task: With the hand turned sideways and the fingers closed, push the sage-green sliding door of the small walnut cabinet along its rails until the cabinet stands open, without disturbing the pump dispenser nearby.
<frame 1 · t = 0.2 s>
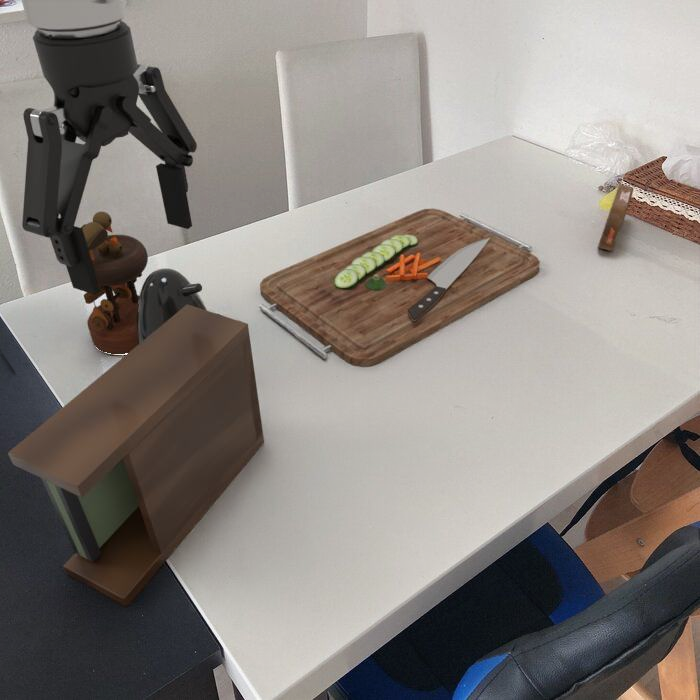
hand: (136, 255, 68), 26 cm above the table, tool pointing down, fingers open, 13 cm apart
cabinet frame: (171, 506, 75), on the table
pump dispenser: (183, 366, 94), on the table
sliding door: (105, 472, 67), point 9 cm above the table, slide at 0.0 cm
tin: (610, 239, 119), on the table
chopping board: (402, 279, 110), on the table
music box: (132, 331, 101), on the table
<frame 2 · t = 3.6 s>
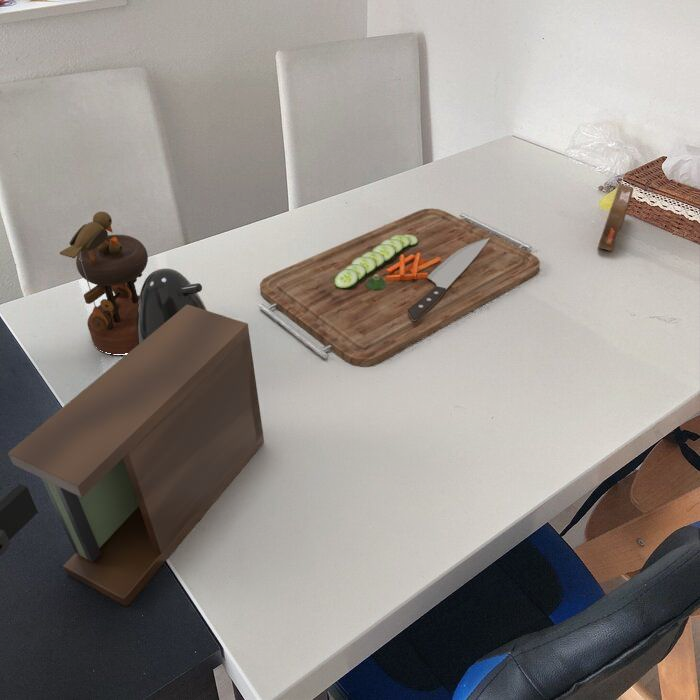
nothing on the table moved.
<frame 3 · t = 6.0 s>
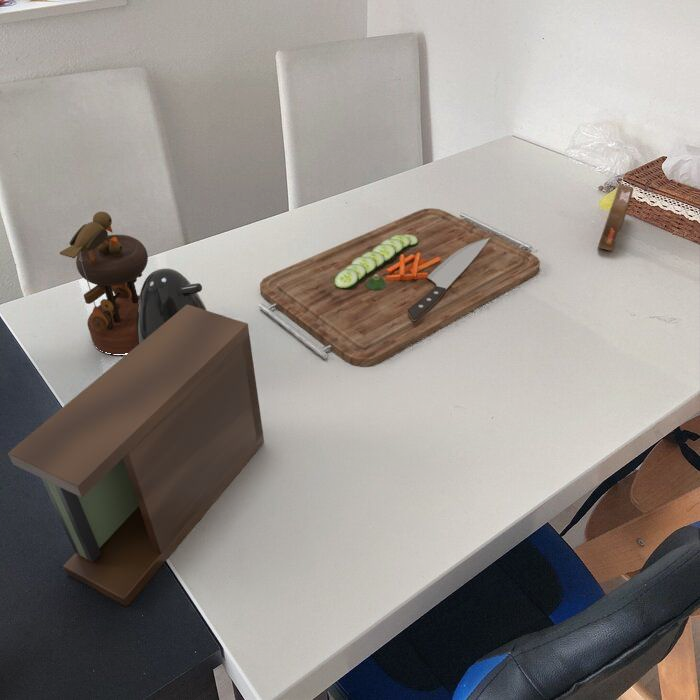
nothing on the table moved.
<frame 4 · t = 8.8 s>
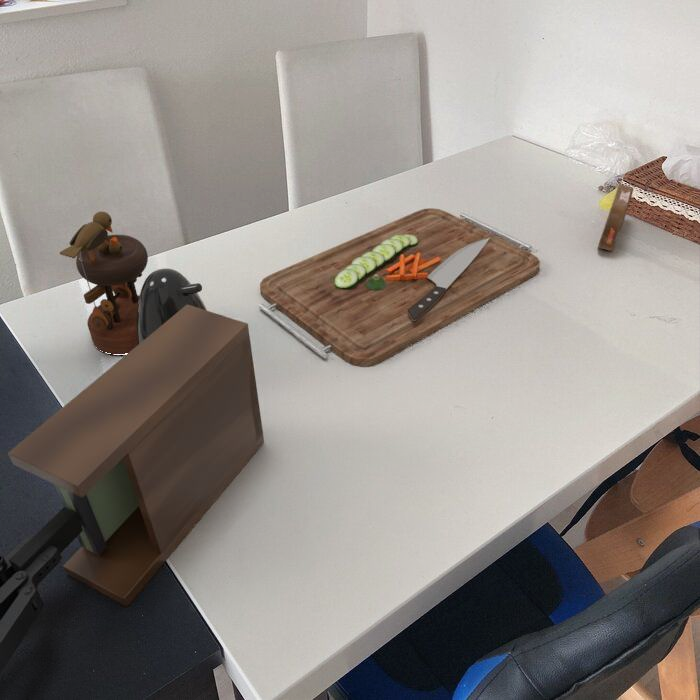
hand: (73, 519, 65), 7 cm above the table, tool horizontal, fingers closed
sliding door: (111, 466, 68), point 9 cm above the table, slide at 0.9 cm, touching gripper
everything else where it was.
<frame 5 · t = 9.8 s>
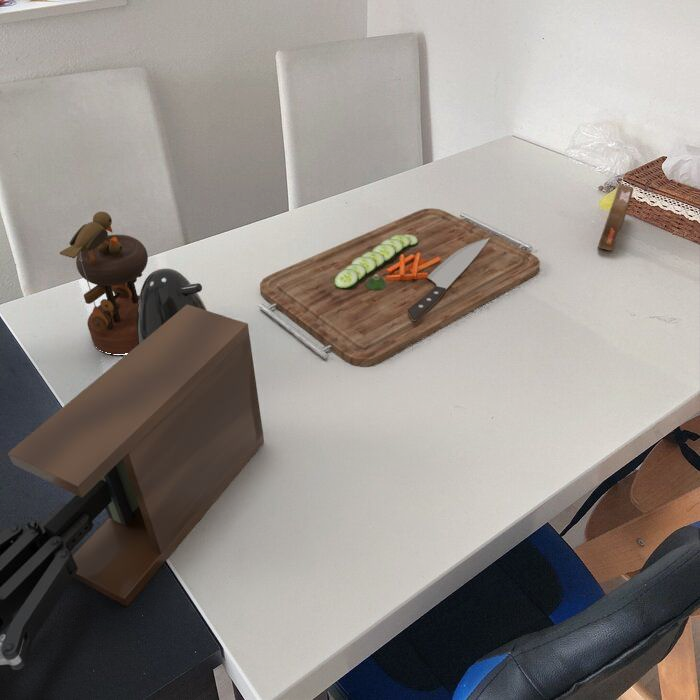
hand: (103, 489, 68), 7 cm above the table, tool horizontal, fingers closed
sliding door: (138, 440, 71), point 9 cm above the table, slide at 4.8 cm, touching gripper
everything else where it was.
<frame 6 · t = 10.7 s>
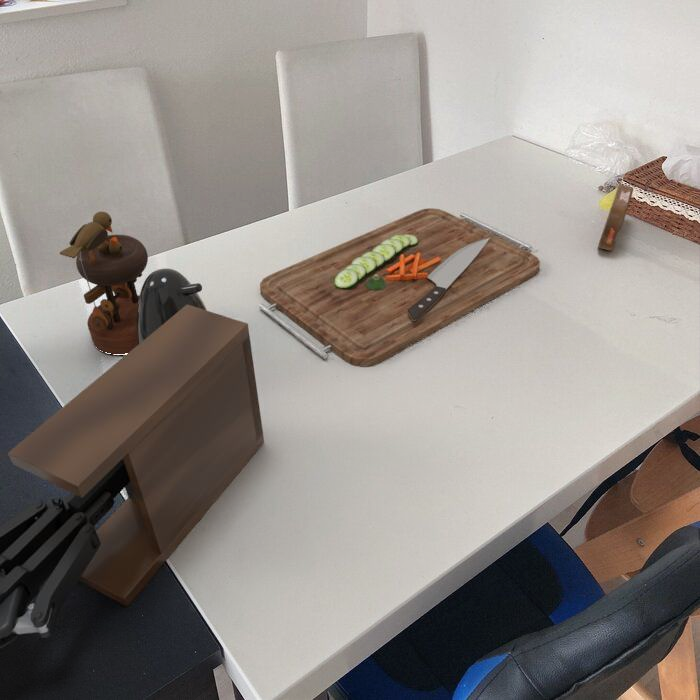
hand: (123, 468, 70), 7 cm above the table, tool horizontal, fingers closed
sliding door: (157, 422, 73), point 9 cm above the table, slide at 7.8 cm, touching gripper
everything else where it was.
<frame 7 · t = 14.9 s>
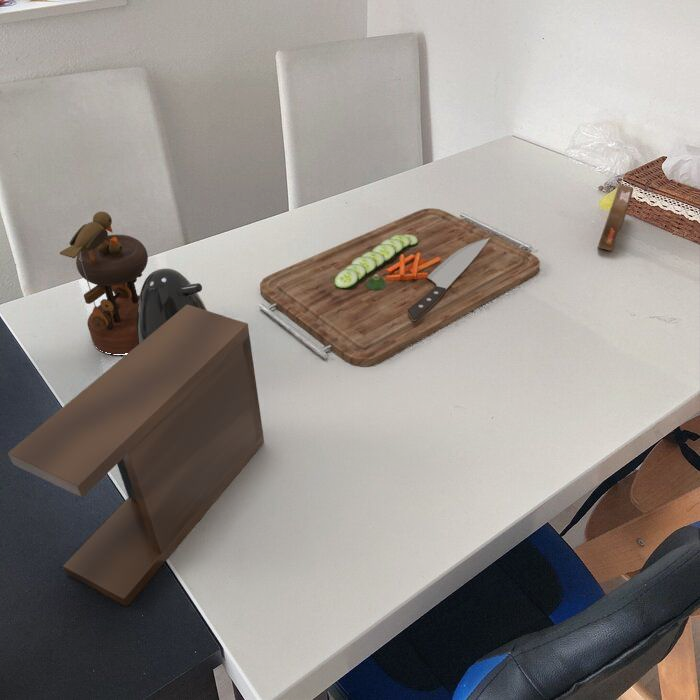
sliding door: (157, 422, 73), point 9 cm above the table, slide at 7.8 cm
everything else where it was.
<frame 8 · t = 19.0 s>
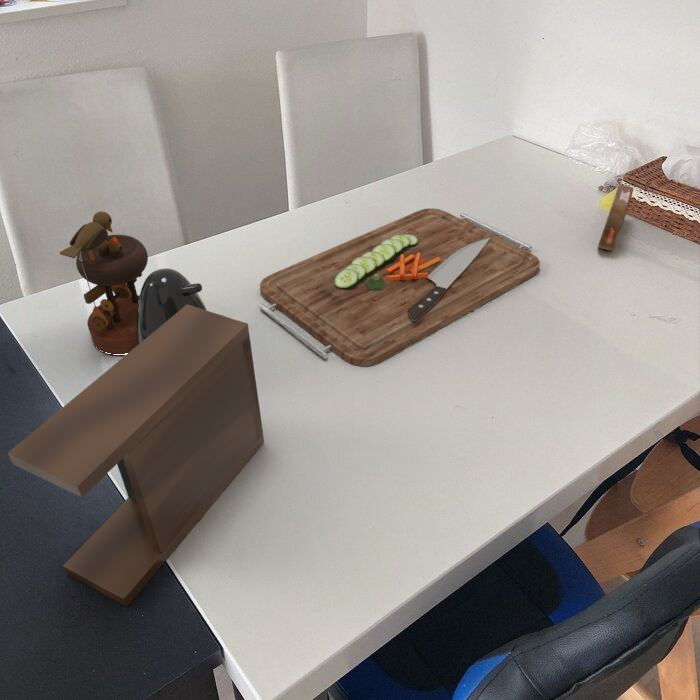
nothing on the table moved.
at the end: sliding door slide at 7.8 cm; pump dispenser moved 0.2 cm from its start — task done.
